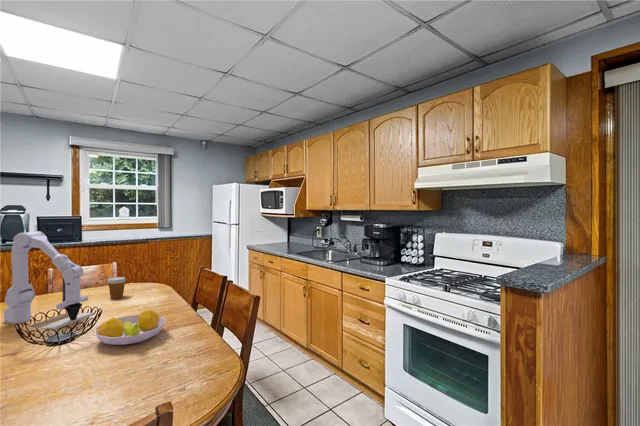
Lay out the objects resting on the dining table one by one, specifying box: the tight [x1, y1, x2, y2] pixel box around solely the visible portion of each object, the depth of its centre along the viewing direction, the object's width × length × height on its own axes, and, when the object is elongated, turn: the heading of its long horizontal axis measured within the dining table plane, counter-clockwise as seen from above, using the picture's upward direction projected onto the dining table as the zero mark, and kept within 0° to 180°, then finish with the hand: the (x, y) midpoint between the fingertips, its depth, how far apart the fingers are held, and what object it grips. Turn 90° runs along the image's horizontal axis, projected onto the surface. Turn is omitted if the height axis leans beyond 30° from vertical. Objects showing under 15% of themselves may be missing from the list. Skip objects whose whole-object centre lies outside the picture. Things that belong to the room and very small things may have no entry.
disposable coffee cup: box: [107, 276, 127, 300], centre depth 192 cm, size 10×10×12 cm
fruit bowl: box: [94, 309, 167, 346], centre depth 135 cm, size 28×27×11 cm
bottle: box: [62, 277, 65, 302], centre depth 182 cm, size 7×7×20 cm
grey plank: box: [41, 312, 95, 330], centre depth 151 cm, size 8×20×1 cm, turn 170°
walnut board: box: [26, 312, 80, 329], centre depth 152 cm, size 7×20×1 cm, turn 170°
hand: (73, 319), depth 151 cm, fingers closed, pressing on grey plank
